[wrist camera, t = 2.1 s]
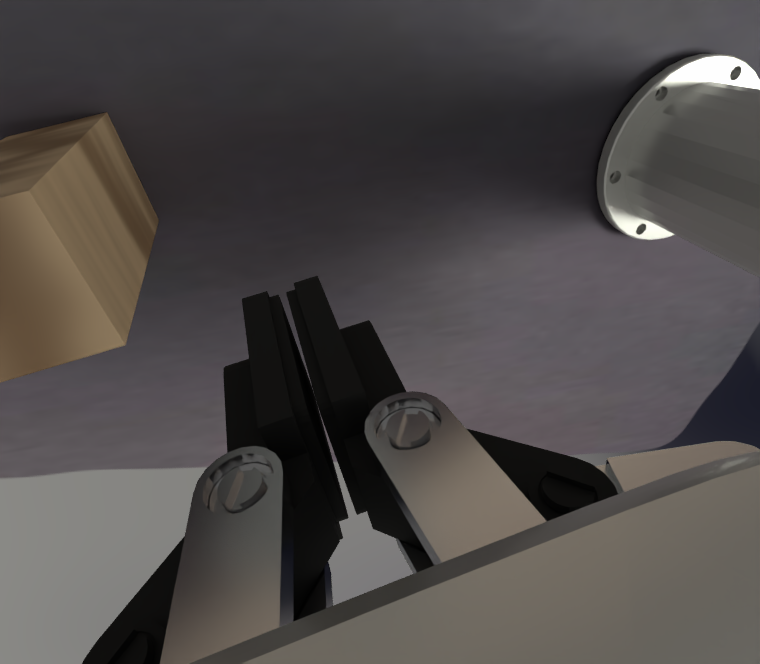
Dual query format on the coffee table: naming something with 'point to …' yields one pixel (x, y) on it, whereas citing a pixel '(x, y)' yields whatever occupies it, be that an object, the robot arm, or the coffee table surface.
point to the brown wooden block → (69, 244)
